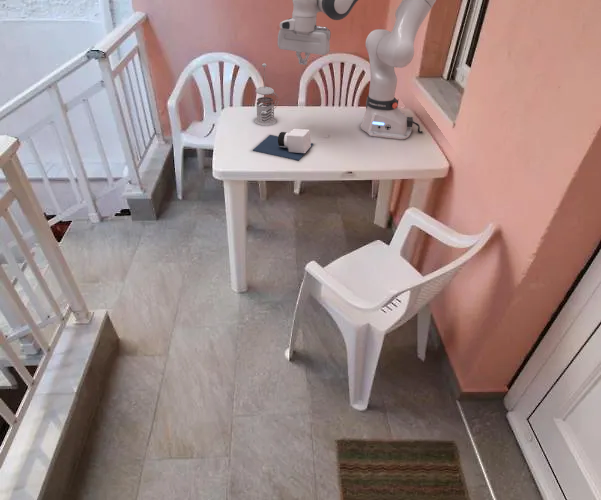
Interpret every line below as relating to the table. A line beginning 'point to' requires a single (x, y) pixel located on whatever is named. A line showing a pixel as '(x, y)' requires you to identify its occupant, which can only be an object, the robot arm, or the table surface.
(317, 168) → the table surface
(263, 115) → the french press
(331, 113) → the table surface
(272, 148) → the mat
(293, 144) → the medicine bottle
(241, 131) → the table surface
